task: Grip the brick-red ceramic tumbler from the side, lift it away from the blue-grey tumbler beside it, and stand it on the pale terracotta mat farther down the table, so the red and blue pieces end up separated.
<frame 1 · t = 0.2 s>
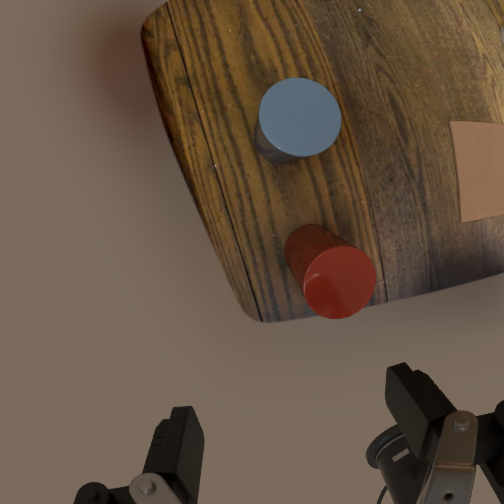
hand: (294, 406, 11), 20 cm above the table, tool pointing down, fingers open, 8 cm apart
red tumbler: (311, 251, 30), on the table
terracotta mat: (492, 169, 29), on the table
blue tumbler: (282, 136, 28), on the table
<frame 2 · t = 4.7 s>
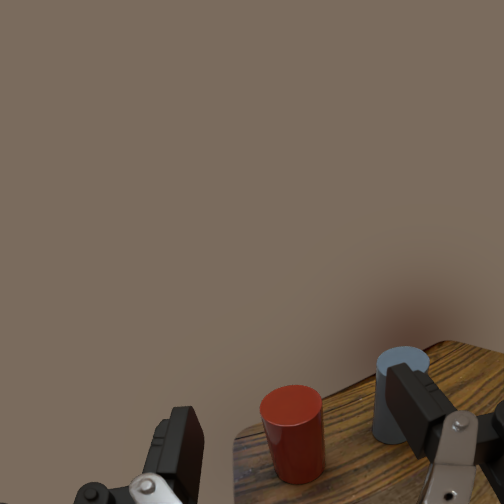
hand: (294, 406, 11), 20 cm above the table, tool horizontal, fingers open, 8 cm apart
red tumbler: (300, 465, 26), on the table
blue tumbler: (394, 427, 28), on the table
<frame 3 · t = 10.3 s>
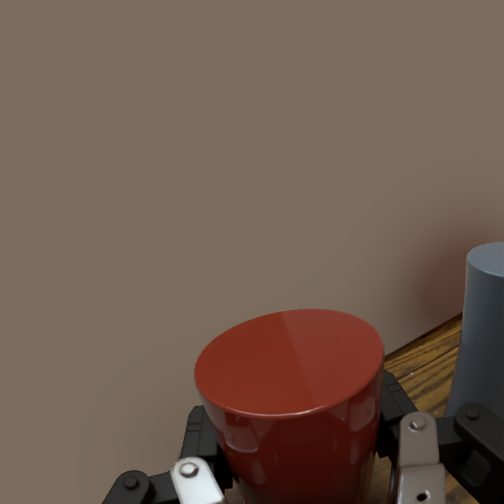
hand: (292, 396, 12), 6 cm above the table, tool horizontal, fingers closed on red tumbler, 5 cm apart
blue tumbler: (482, 414, 12), on the table
when the fingers open (6 cm above the table, at t = 20.8 s): red tumbler stays where it is, resting on terracotta mat.
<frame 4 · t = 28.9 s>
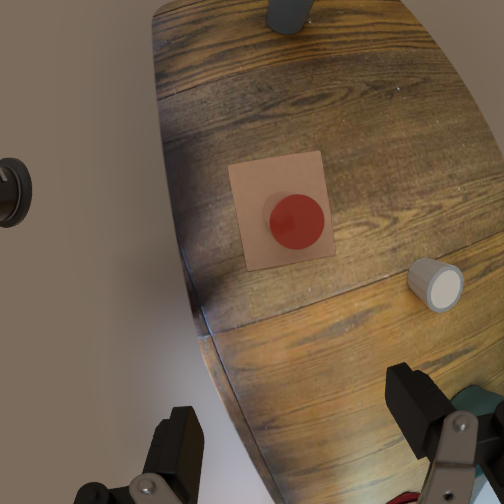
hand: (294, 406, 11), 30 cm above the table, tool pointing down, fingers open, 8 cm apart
red tumbler: (284, 211, 39), resting on terracotta mat
terracotta mat: (283, 210, 39), on the table
flower pot: (461, 404, 50), on the table
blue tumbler: (285, 19, 33), on the table
shot glass: (421, 274, 42), on the table
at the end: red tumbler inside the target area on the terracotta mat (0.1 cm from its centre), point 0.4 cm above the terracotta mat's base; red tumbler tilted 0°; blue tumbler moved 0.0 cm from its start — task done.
